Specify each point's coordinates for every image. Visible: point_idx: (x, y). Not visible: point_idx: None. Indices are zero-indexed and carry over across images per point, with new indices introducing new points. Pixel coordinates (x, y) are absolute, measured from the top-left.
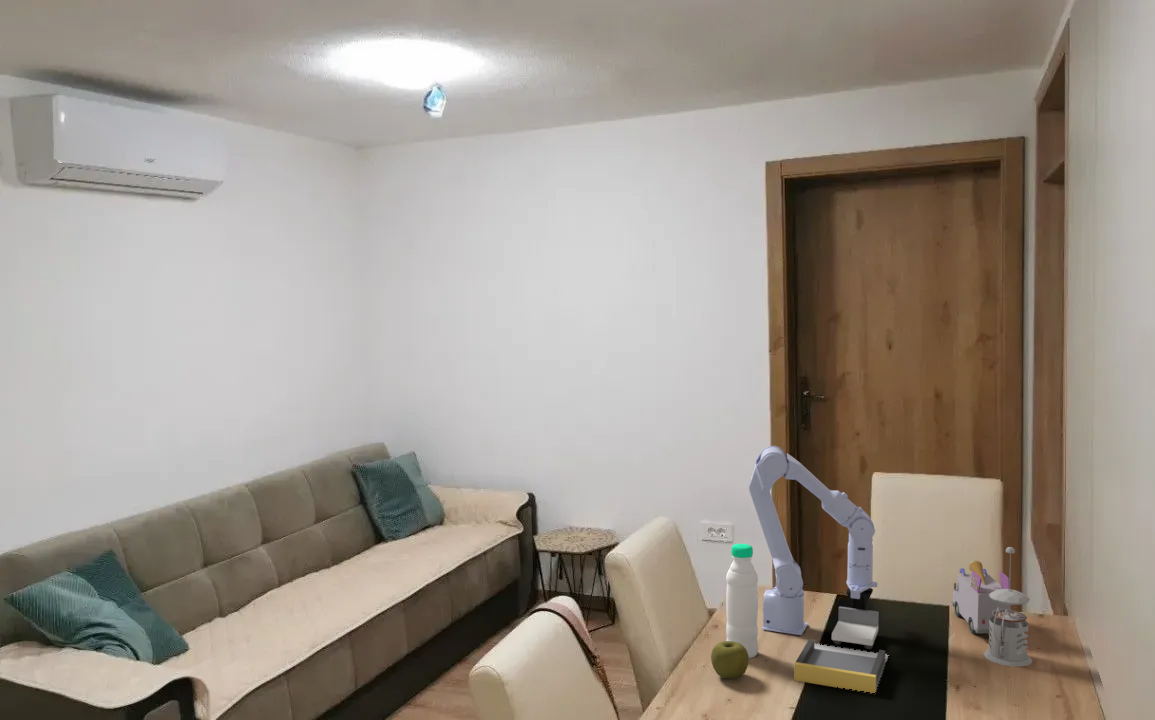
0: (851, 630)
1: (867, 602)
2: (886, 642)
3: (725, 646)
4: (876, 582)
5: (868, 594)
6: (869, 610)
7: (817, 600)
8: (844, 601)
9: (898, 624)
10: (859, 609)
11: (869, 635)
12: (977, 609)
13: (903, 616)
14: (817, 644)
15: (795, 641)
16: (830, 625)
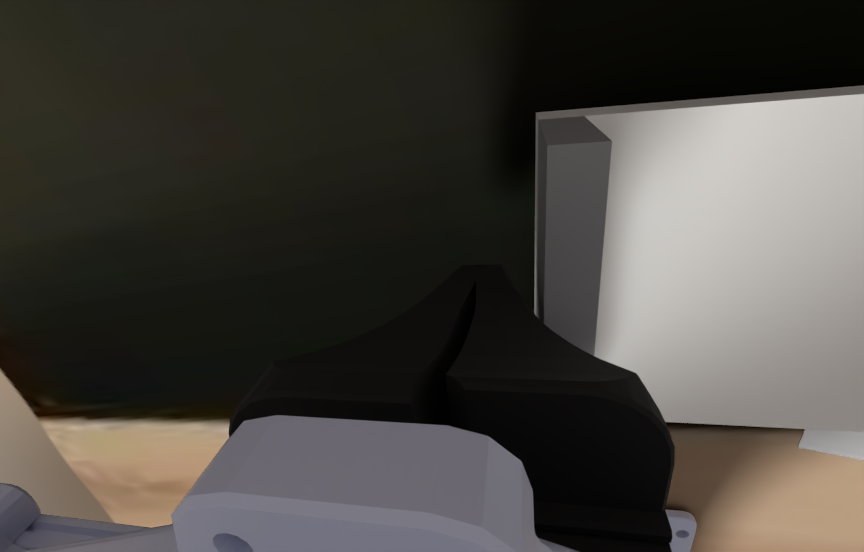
0: (782, 314)
1: (494, 332)
2: (638, 5)
3: None
4: (209, 534)
5: (595, 431)
6: (544, 258)
7: (163, 476)
8: (81, 382)
9: (178, 16)
10: None
11: None
12: None
13: (8, 22)
14: (850, 441)
15: (787, 524)
16: None
